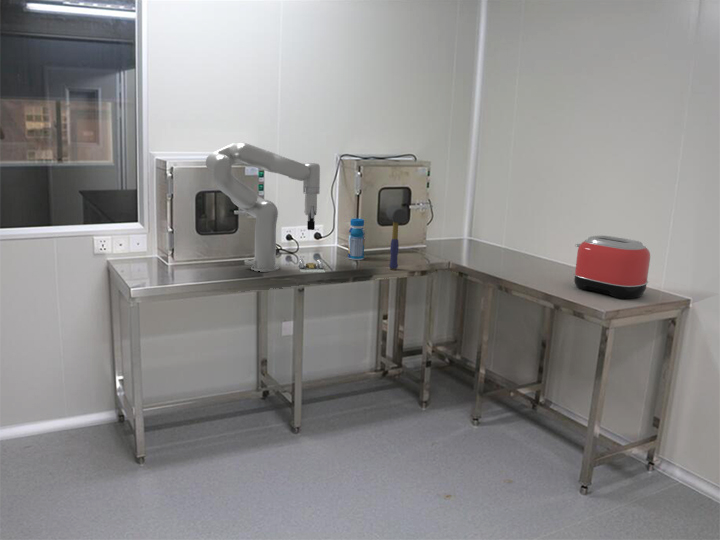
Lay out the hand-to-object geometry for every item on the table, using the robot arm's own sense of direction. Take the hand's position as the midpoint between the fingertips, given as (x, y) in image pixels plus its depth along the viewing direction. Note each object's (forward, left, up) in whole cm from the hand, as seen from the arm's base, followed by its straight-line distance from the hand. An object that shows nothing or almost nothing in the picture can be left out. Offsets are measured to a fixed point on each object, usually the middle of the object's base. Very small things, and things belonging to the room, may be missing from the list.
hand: (310, 229), depth 306 cm
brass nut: (0, -6, -17) cm, 18 cm away
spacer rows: (0, -6, -17) cm, 18 cm away
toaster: (+124, -49, -18) cm, 134 cm away
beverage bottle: (+25, +17, -18) cm, 35 cm away
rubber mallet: (+39, -7, -18) cm, 43 cm away
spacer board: (0, -9, -17) cm, 20 cm away
